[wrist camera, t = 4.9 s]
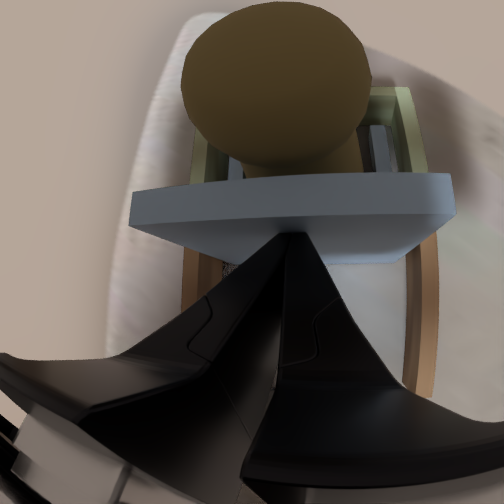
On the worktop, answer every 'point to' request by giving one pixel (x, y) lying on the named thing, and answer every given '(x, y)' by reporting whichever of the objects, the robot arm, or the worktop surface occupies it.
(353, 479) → the robot arm
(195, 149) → the track
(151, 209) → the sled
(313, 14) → the cork
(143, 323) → the worktop surface
